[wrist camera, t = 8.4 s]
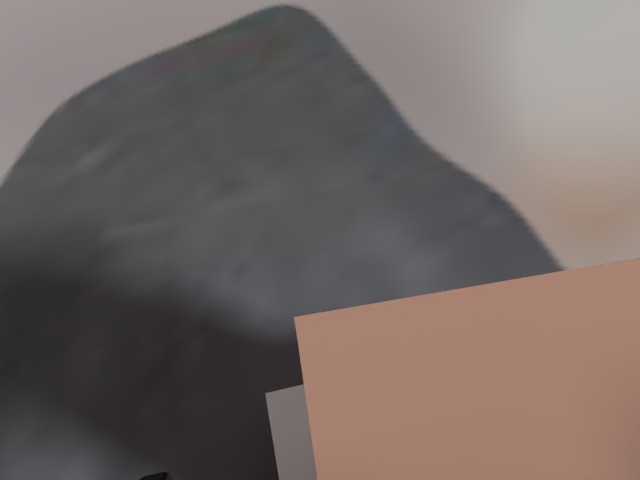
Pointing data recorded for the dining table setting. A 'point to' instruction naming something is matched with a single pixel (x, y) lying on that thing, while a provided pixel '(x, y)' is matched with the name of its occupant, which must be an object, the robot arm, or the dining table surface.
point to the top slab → (291, 434)
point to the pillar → (481, 381)
